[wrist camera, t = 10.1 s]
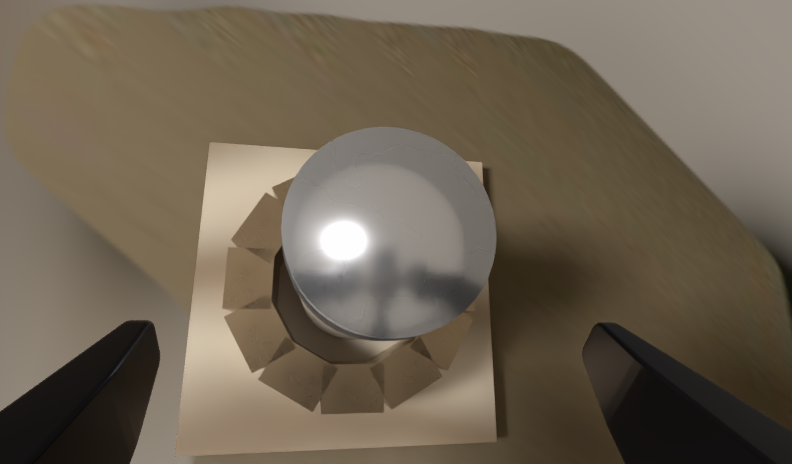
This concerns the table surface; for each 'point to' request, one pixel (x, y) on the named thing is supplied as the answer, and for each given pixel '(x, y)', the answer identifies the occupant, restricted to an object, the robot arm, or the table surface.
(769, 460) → the robot arm
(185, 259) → the table surface
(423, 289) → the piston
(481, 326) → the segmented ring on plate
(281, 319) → the ring collar
